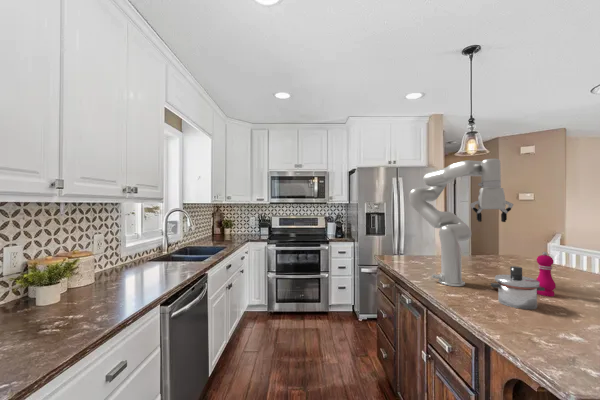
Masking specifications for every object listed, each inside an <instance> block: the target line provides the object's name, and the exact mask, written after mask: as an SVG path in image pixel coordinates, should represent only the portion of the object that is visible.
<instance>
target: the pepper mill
mask: <svg viewBox="0 0 600 400" xmlns="http://www.w3.org/2000/svg"><path fill="white" fill-rule="evenodd" d="M536 263H537V265H538V269H539V271H538V272H539V274H538V275H537V277H536V279H535V280H538V281H539V286H542V287H544V288H545V291H538V290H537V295H540V296H544V297H551V298H552V297H555V291H554V290H555V289H556V283H555V281H554V278H553V276H552V270H553V266H552V265H553V264H554V258H553V257H551V256H549V255H548V252H547V251H543V252H542V254H540V255H538V256H537V257H536Z"/></svg>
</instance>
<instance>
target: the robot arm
mask: <svg viewBox="0 0 600 400" xmlns="http://www.w3.org/2000/svg"><path fill="white" fill-rule="evenodd" d="M501 169H502V168H501V160H500V159H499V158H487V159H486V158H485V159H483V160H482V161H481V160H471V159H470V160H469V159H468V160H467V159H466V160H461V161H458V162H454V163H451V164H449V165H447V166H446V167H443V168H439V169H437V170H433V171H429V172H426V173H425V174H424V176H423V178H422V181H423V183H424V184H425V185H426V186H428V187H414V188H413V189H411V190H410V191H409V193H408V195H409V196H408V198H409V199H408V200H409V203H410V205H411V207H412V208H413V209H414V210H415V211H416V212H417V213H418V214H419V215H420V216H421V217H422V218H424V220H425V221H426V222H427V223H428V224H429V225H430V226H431V227H433V228H434V229H439V231H438V237H439V241H440V256H441V261H440V262H441V270H440V271H441V272H440V273H439V274H433V273H432V274H431V278H432V279H436V280H438V283H440V284H441V285H445V286H449V287H463V286H465V285H466V282H465V281H464V280H462V278H463V275H462V272H463V271H462V268H463V267H462V247H461V245H460V242H466V241H468V240H470V239H471V238H472V230H471V228H470V226H469V225H468V224H467V223H466V222H464V221H463V220H462V219H461V218H460V217H458V215H456V214H455V213H453V212H451V211H440V210H439V209H437V208H436V207H435V206H434V205H433V204H431V203H429V202H435V201H436V200H437V199H439V197H440V195H441V194H442V193H443V191H444V189H445V188H446V187H447V186H448V184H449V183H453V182H455V180H456V178H461V177H480V179H481V181H480V182H478V183H477V186H478V187H481V188H479V191H478V200H476V201H474V202H471V203H470V204H469V205H470V207H471V209H472V210H473V212H474V213H476V220H477V222H478V223H481V222H482V221H483V220H482V213H481V212H482V211H483V210H499V211H501V214H500V217H501V218H500V220H501V222H502V223H506V221H507V218H508V217H507V215H508V213H509V212H510V211H511V210H512V208H513V207H514V203H512V202H510V201H507V200H506V195H505V191H504V190H505V189H504V188H503V187H501V185H502V181H501V177H502V175H501ZM476 205H477V206H478V208H476ZM506 206H507V207H506Z"/></svg>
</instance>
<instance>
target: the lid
mask: <svg viewBox="0 0 600 400" xmlns="http://www.w3.org/2000/svg"><path fill="white" fill-rule="evenodd" d="M509 268H510V269H509V272H510V274H497V275H495V276H494V281H495V282H496V283H498V282H499V283H501V284H505V285H509V286H515V287H523V288H536V287H539V281H538V280H536V279H535V278H532V277H527V276H524V275H523V267H521V266H516V265H515V266H514V265H513V266H510V267H509Z"/></svg>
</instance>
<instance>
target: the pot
mask: <svg viewBox="0 0 600 400" xmlns="http://www.w3.org/2000/svg"><path fill="white" fill-rule="evenodd" d="M490 286H491V287H492V288H496V287H497V288H498V291H497V293H498V300H497V301H498V302H499V303H500V304H501V305H504V306H507V307H509V306H510V308H513V307H514V309H518V308H521V309H520V310H536V309H538V294H537V290H538V291H545V288H544V287H542V286H539V287H536V288H523V287H515V286H509V285H505V284H501V283H499V282H496V283H495V282H490Z"/></svg>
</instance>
